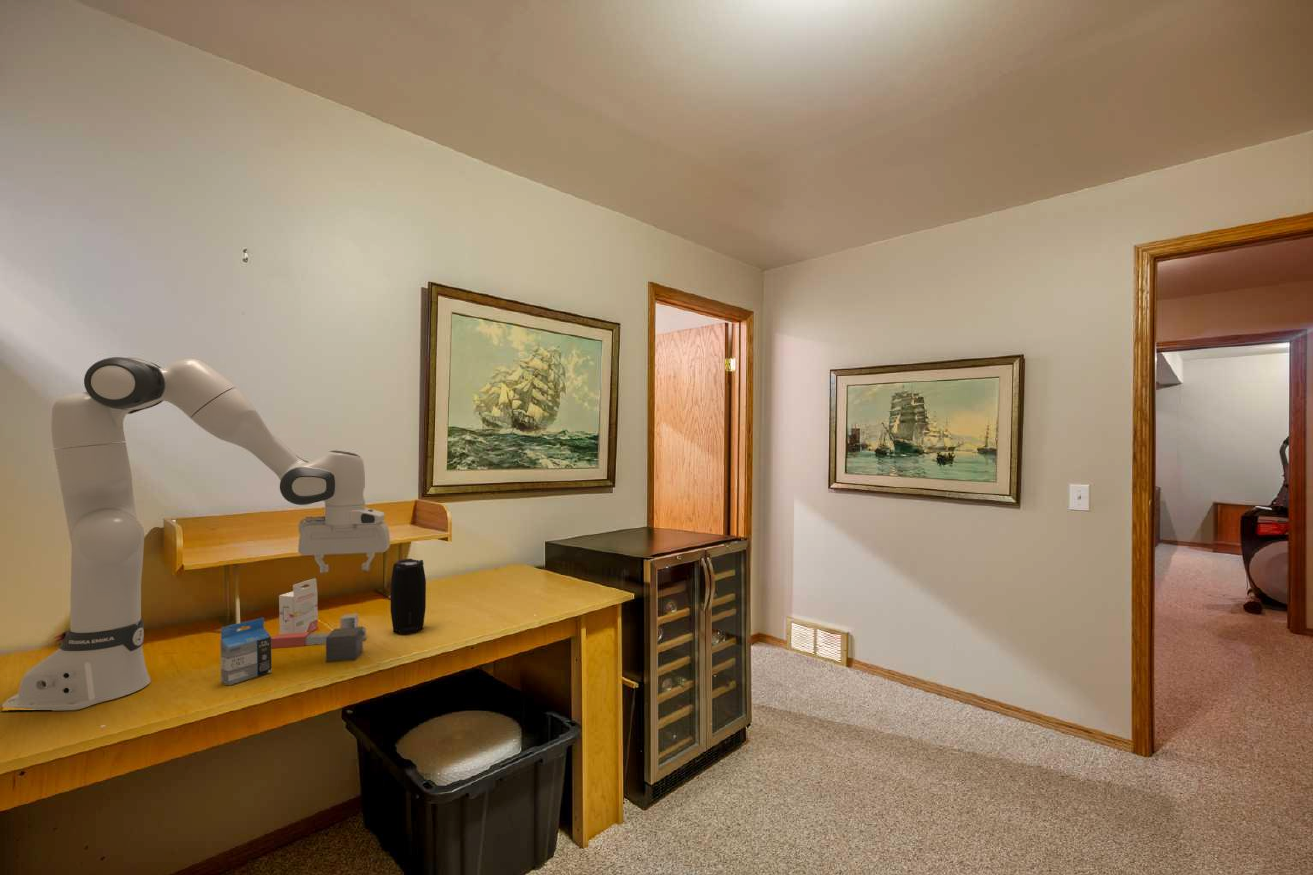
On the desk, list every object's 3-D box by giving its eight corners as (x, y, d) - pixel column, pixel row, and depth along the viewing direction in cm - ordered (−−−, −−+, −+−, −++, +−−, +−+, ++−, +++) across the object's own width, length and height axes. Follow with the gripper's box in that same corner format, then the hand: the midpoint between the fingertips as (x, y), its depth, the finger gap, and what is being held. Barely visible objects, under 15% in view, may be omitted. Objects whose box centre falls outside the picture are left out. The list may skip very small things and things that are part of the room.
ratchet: (267, 651, 148) (267, 625, 148) (279, 640, 156) (279, 616, 156) (361, 644, 154) (361, 619, 154) (368, 634, 161) (369, 610, 161)
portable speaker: (396, 626, 169) (396, 558, 169) (429, 625, 170) (430, 557, 170) (385, 636, 160) (385, 564, 160) (420, 635, 161) (421, 564, 161)
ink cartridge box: (303, 628, 166) (303, 576, 166) (318, 629, 166) (318, 577, 165) (278, 638, 158) (278, 583, 158) (293, 639, 157) (293, 584, 157)
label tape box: (228, 686, 128) (228, 630, 128) (219, 682, 130) (220, 627, 130) (272, 673, 135) (272, 619, 135) (263, 669, 137) (263, 616, 137)
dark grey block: (326, 662, 141) (326, 637, 141) (334, 652, 148) (334, 628, 148) (355, 659, 143) (356, 635, 143) (362, 650, 149) (362, 626, 149)
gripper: (293, 518, 140) (293, 576, 140) (386, 516, 145) (386, 572, 145) (303, 515, 146) (303, 570, 146) (391, 512, 151) (391, 566, 151)
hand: (345, 571), depth 145 cm, fingers open, 8 cm apart
